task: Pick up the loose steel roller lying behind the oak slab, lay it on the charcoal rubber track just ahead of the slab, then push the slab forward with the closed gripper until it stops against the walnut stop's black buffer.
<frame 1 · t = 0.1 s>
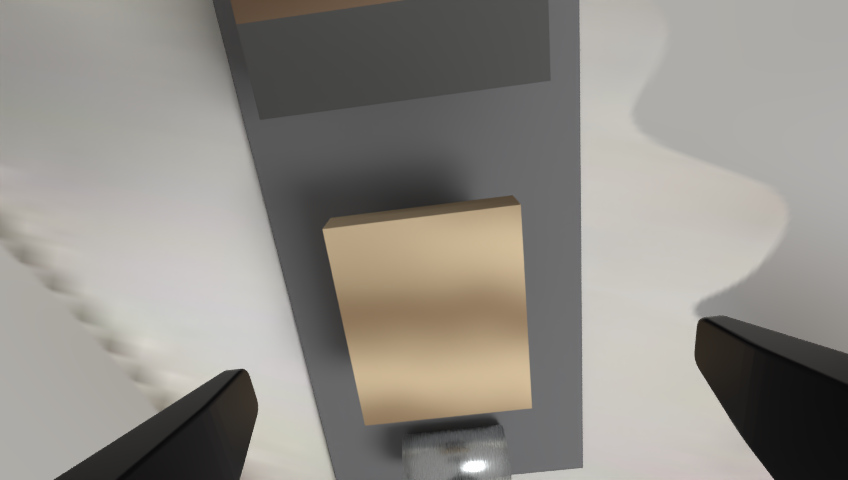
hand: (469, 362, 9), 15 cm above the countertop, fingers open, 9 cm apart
walnut stop: (400, 28, 20), resting on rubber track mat
oak slab: (434, 316, 20), point 4 cm above the countertop, slide at 0.0 cm
loose steel roller: (454, 437, 27), resting on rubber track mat
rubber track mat: (431, 268, 24), on the countertop
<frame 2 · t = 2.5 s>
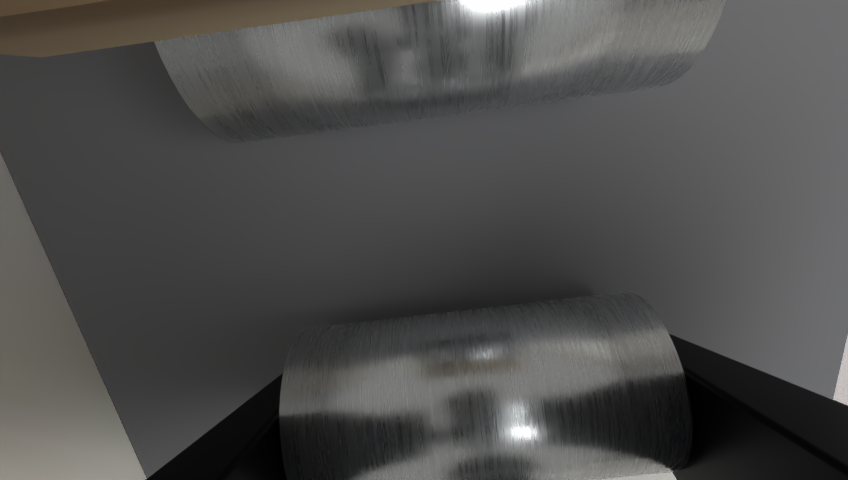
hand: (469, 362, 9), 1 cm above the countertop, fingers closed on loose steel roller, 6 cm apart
loose steel roller: (466, 344, 9), resting on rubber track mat, touching gripper
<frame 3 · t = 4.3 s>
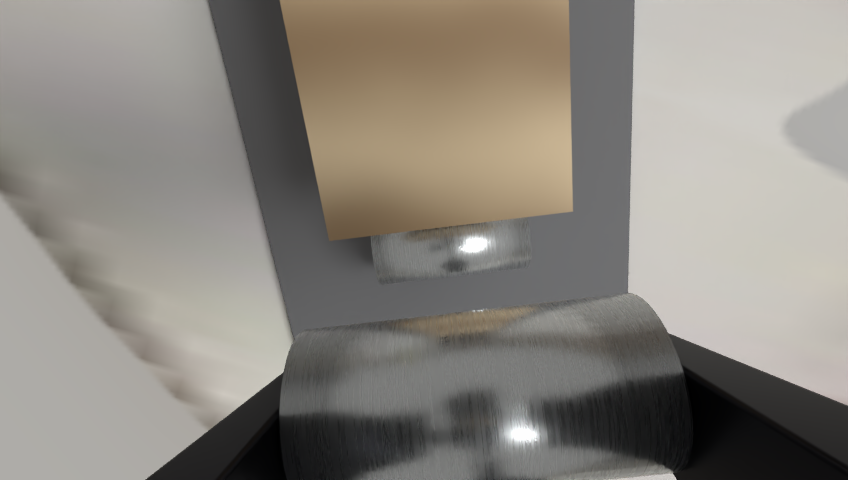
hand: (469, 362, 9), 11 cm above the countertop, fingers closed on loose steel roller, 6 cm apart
oak slab: (430, 64, 13), point 4 cm above the countertop, slide at 0.0 cm
loose steel roller: (466, 345, 9), point 11 cm above the countertop, touching gripper
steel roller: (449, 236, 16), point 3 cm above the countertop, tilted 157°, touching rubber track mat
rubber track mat: (427, 59, 17), on the countertop
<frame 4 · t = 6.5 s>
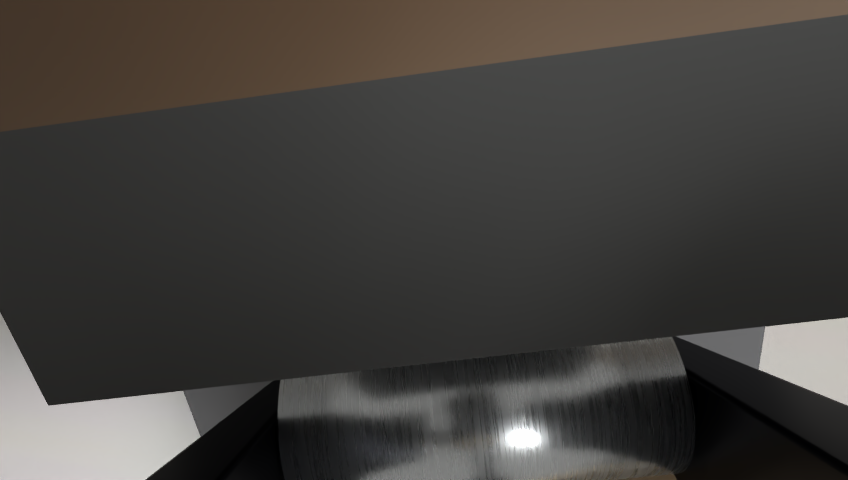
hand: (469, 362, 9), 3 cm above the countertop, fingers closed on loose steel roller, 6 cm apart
walnut stop: (433, 80, 10), resting on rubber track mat
loose steel roller: (466, 345, 9), point 3 cm above the countertop, touching gripper
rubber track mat: (479, 477, 14), on the countertop
when the fingers open (2 cm above the countertop, at t = 7.3 s): loose steel roller drops 1 cm, resting on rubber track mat.
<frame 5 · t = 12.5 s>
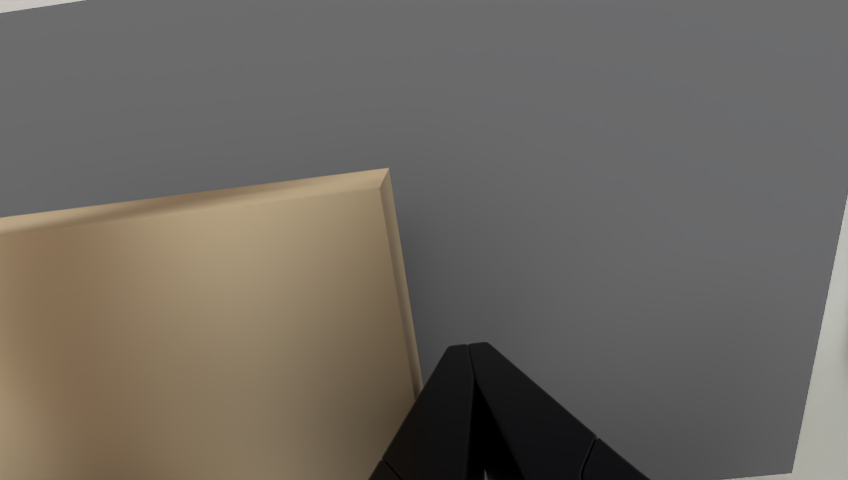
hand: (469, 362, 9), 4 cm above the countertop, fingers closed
oak slab: (161, 413, 8), point 4 cm above the countertop, slide at 1.6 cm, touching gripper
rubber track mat: (287, 300, 12), on the countertop
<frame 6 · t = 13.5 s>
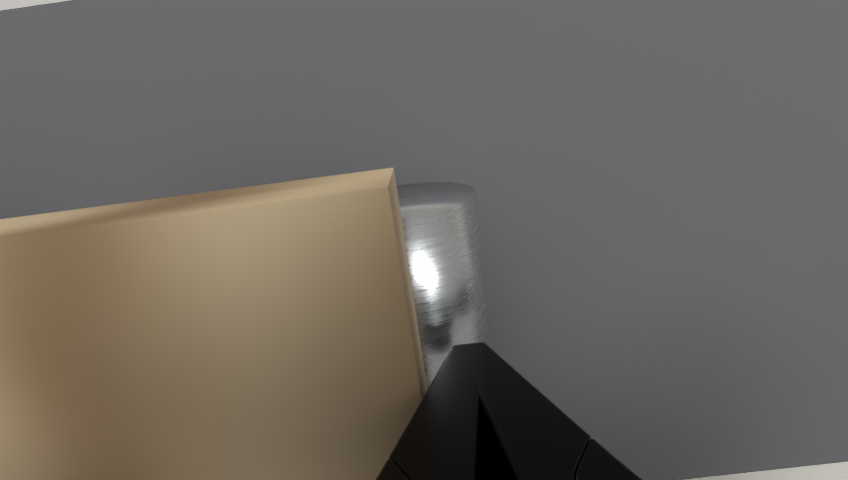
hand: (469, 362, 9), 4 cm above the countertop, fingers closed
oak slab: (162, 417, 8), point 4 cm above the countertop, slide at 4.5 cm, touching gripper, walnut stop
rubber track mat: (386, 289, 12), on the countertop
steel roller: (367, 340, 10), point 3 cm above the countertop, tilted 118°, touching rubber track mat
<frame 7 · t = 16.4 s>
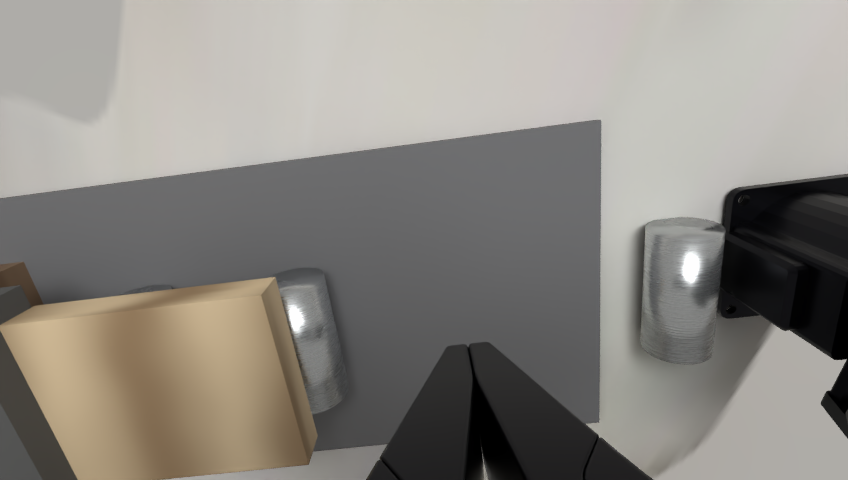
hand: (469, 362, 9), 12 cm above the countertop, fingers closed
walnut stop: (72, 347, 22), resting on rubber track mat
oak slab: (174, 386, 18), point 4 cm above the countertop, slide at 4.5 cm
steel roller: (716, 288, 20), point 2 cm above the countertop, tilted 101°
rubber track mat: (298, 321, 22), on the countertop
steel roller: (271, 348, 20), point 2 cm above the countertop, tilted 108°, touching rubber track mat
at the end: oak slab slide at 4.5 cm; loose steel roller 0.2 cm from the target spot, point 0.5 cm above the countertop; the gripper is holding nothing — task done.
